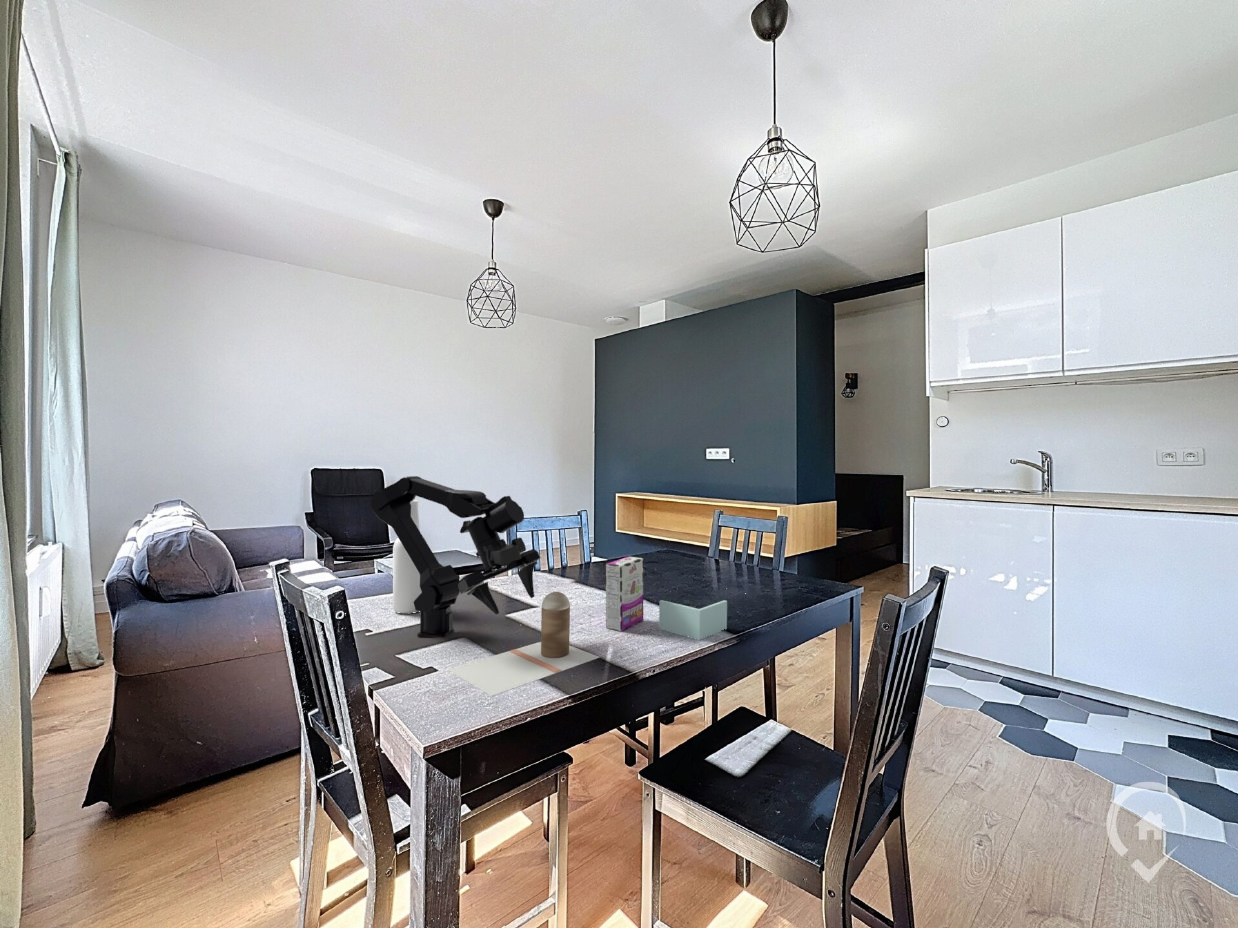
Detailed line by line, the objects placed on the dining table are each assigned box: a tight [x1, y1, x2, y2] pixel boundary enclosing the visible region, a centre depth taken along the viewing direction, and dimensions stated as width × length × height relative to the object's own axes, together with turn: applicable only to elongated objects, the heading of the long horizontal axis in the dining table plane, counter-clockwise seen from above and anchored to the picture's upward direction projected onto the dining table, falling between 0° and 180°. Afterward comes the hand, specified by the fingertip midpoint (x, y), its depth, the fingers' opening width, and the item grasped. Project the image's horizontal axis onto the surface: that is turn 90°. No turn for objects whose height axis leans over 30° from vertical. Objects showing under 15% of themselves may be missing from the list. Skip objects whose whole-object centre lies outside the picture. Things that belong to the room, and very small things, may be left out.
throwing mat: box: [446, 641, 601, 697], centre depth 109 cm, size 26×16×1 cm, turn 135°
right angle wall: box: [658, 599, 728, 640], centre depth 135 cm, size 12×12×8 cm
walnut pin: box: [540, 591, 571, 658], centre depth 115 cm, size 6×6×13 cm
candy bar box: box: [605, 556, 644, 632], centre depth 137 cm, size 11×5×16 cm, turn 148°
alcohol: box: [392, 499, 428, 613], centre depth 148 cm, size 9×9×30 cm
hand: (515, 605), depth 120 cm, fingers open, 9 cm apart
